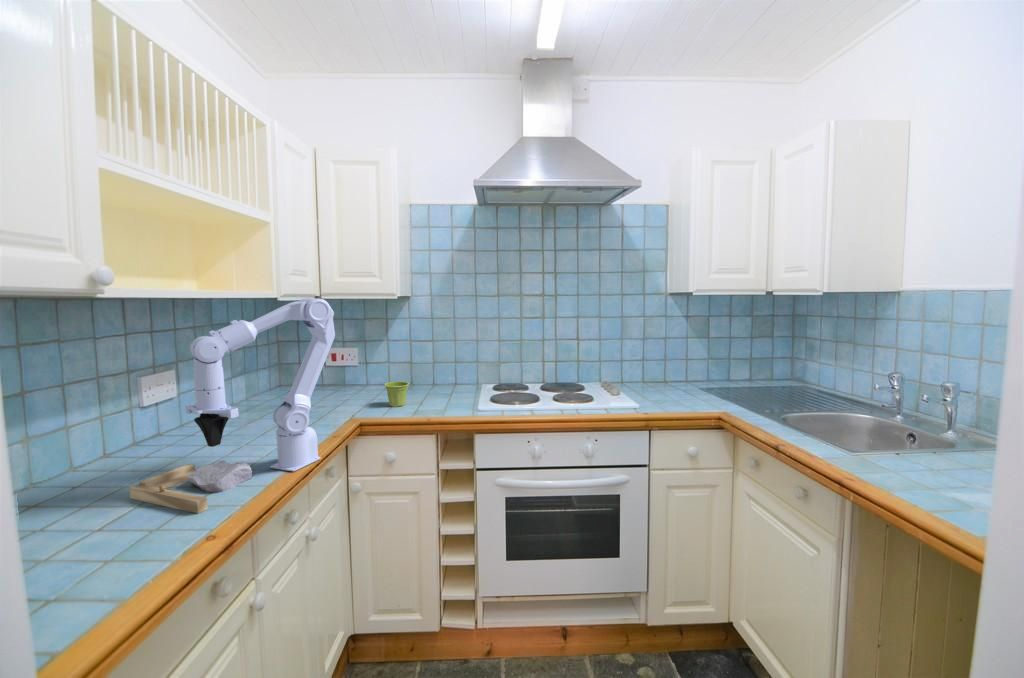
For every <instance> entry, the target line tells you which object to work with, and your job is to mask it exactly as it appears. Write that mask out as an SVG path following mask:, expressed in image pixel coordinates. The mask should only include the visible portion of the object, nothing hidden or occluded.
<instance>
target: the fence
mask: <svg viewBox="0 0 1024 678" xmlns="http://www.w3.org/2000/svg"><path fill="white" fill-rule="evenodd" d="M195 470H196V466H195V464H191V463H188V464H185V465H183V466H180V467H177V468H174V469H171V470H168V471H165V472H162V473H160V474H156V475H154V476H152V477H149V478H146V479H144V480H140V481H138V482H139V483H138V484H136V485H133V486H129V487H128V489H129V490H128V491H129V497H130V498H129V499H131V500H136V501H140V502H144V503H149V504H152V505H153V504H154V505H159V506H161V507H162V506H163V507H166V508H172V509H176V510H179V511H180V510H181V511H185V512H190V513H193V514H200V513H203V512H204V511H206V510H208V498H207V497H205V496H200V495H196V494H190V493H185V492H179V491H175V490H172V489H171V490H170V489H168V488H170V487H173V486H176V485H179V484H181V483H183V482H186V481H188V476H189V475H190V474H191V473H193V472H194V471H195Z"/></svg>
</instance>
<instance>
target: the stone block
mask: <svg viewBox="0 0 1024 678" xmlns="http://www.w3.org/2000/svg"><path fill="white" fill-rule="evenodd" d="M252 478H253V471H252V467H251V466H250V464H248V463H246V462H243V461H241V462H239V461H238V462H235V463H230V462H227V461H225V460H219V461H218V462H214V463H210V464H207V465H204V466H202V467H199V468H197V469H195V471H194V472H193V473H191V474H190V475H189V476H188V480H187V481H188V482H189V483H190V484H192V485H193V486H195V487H197V488H199V489H200V490H203V491H206V492H207V493H223V492H225V491H228V490H231V489H234V488H236V487H237V486H239V485H241V484H244V483H246V482H247V481H249V480H251V479H252Z"/></svg>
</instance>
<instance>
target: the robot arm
mask: <svg viewBox="0 0 1024 678" xmlns="http://www.w3.org/2000/svg"><path fill="white" fill-rule="evenodd" d="M334 316H335V311H334V310H333V308H332V307H331V305H330V304H329V302H328V301H326V300H325V299H323V298H309V297H306V298H305V297H304V298H301V299H300V300H298V301H297V300H296V301H292V302H290V303H286V304H285V305H284V304H283V305H282V306H280V307H278V308H276V309H274V310H272V311H270V312H267V313H266V314H263V315H262V316H259V317H258V318H256V319H253V320H251V321H246V320H244V319H240V320H237V319H234V320H231V321H229V323H230V324H229V325H227V326H224V327H222V328H220V329H216V330H212V329H211V330H210V331H208V334H209V336H208V335H203V336H198V337H196V338H195V339H194V340H193V341H192V342H191V343H190V347H189V349H188V352H189V354H190V356H192V357H193V361H192V362H193V363H192V366H193V373H192V374H193V384H194V385H193V386H194V396H195V403H194V402H193V403H190V404H186V405H185V413H186V414H192V415H199V416H198V417H195V418H194V419H193V421H194V422H195V424H196V425H197V426H198V428H200V430H201V432H202V435H203V437H204V439H205V442H206V444H207V446H208V447H210V448H211V447H213V448H214V447H217V446H220V445H221V442H222V437H223V433H224V430H225V427H226V425H227V423H228V421H229V419H234V418H237V417H239V416H240V415H239V408H238V407H233V406H231V405H229V404H227V403H226V402H227V401H226V400H227V399H226V389H225V387H226V386H225V376H224V374H225V373H224V367H223V361H222V359H223V357H224V355H225V354H230V353H232V352H234V351H236V350H238V349H240V348H242V347H244V346H247V345H249V344H250V343H252V342H255V340H256V337H257V336H258V334H259V333H262V332H265V331H266V330H269V329H271V328H274V327H276V326H278V325H281V324H283V323H285V322H287V321H301V323H303V324H304V325H305V326H306V327H307V329H308V331H309V332H310V335H311V338H310V341H309V344H308V346H307V349H306V352H305V353H304V354H305V355H304V356H303V359H302V362H301V364H300V366H299V368H298V371H297V374H296V375H295V378H294V380H293V382H292V385H291V388H290V391H289V393H287V394H286V395H285V396H284V397H283V400H282V401H281V403H280V404H279V405H278V406H277V407H276V408H275V409H274V411H273V414H272V419H273V422H274V424H275V425H277V426H278V427H277V429H276V435H275V436H276V449H277V450H276V451H277V462H276V463H274V464H272V465H270V466H269V467H270V468H271V469H276V470H282V471H288V472H296V471H298V470H300V469H302V468H304V467H307V466H309V465H311V464H312V463H315V462H317V461H319V460H321V459H322V458H321V457H320V456H319V449H318V436H317V432H316V431H315V429H314V428H313V427H310V426H309V424H310V411H311V408H312V405H311V404H312V403H311V397H312V395H313V392H314V390H315V387H316V386H317V383H318V381H319V377H320V374H321V373H322V370H323V368H324V364H325V363H326V360H327V357H328V355H329V352H330V350H331V347H332V345H333V343H334V340H335V339H336V338H335V336H336V330H335V324H334Z"/></svg>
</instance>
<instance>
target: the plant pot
mask: <svg viewBox="0 0 1024 678" xmlns="http://www.w3.org/2000/svg"><path fill="white" fill-rule="evenodd" d="M409 384H410V383H409V382H407V381H391V382H386V383H384V386H385V389H386V391H387V392H386V393H387V398H388V406H389V407H393V408H394V407H395V408H399V407H404V406H405V405H406V401H407V400H406V399H407V392H408V388H409Z"/></svg>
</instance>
